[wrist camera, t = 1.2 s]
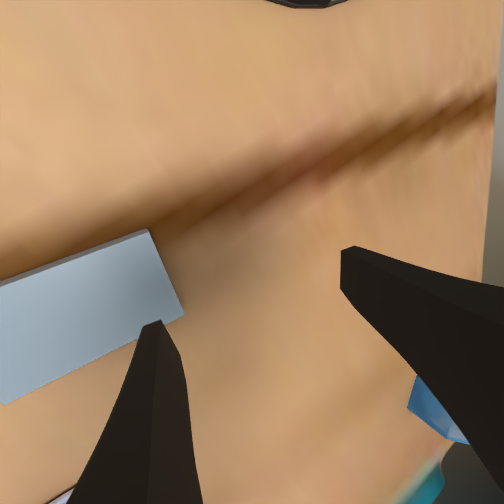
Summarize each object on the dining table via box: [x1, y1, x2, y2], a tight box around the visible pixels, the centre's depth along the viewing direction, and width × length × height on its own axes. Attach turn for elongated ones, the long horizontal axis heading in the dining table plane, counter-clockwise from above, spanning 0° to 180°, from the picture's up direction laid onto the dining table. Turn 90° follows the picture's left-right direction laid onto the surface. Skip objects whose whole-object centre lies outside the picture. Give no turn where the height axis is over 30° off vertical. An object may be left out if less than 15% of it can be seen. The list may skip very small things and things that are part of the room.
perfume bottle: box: [407, 376, 470, 445], centre depth 41 cm, size 6×6×12 cm
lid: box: [0, 228, 185, 405], centre depth 18 cm, size 7×12×2 cm, turn 106°
